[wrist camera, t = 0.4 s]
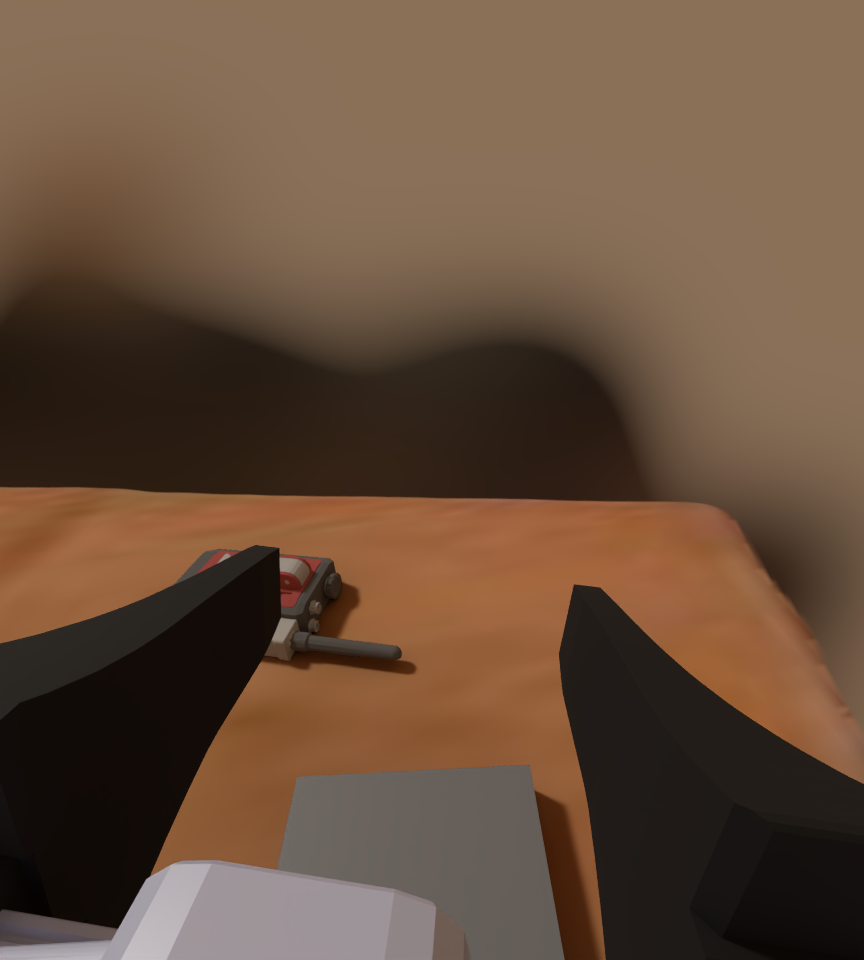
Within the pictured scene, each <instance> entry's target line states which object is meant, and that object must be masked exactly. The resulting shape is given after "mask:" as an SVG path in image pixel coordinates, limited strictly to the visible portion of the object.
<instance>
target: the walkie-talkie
mask: <svg viewBox="0 0 864 960" xmlns="http://www.w3.org/2000/svg"><path fill="white" fill-rule="evenodd" d="M239 552H241V551H237V550H226V549H217V550H212V551H206V552H204V553H203V554H202V555H201V556H200V557H199V558H198V559H197V560H196V561H195V562H194V564H193V565H192V566H191V567H190V568H189V569H188V570H187V571H186V572H185V573H184V574H183V575H182V576H181V577H180V578H179V579H178V580H177V581H176V582H175V584H177V583H179V582H181V581H184V580H186V579H188V578H190V577H192V576H194V575H196V574H198V573H200V572H202V571H204V570H206V569H208V568H210V567H211V566H213V565H215V564H217V563H219V562H221V561H223V560H225V559H227V558H229V557H231V556H233V555H235V554H237V553H239ZM175 584H174V585H175ZM280 586H281V619H280V622H279V624H278V627H277V629H276V631H275V634H274V636H273V638H272V641H271V643H270V645H269V647H268V649H267V652H266V653H265V655H264V656H270V657H277V658H279V659H280V660H286V661H290V659H291V657H292V655H293V654H294V652H295V651H302V652H309V651H317V652H324V653H332V654H339V655H347V656H354V657H360V656H366V657H374V658H382V659H390V660H397V659H400V658H401V655H402V651H401V650H400V648H399V647H398V646H393V645H385V644H378V643H370V642H362V641H354V640H346V639H338V638H330V637H322V636H314V635H312V634H311V633H312V632H318V630H319V627H320V623H317V622H319V621H317V620H318V618H319V616H320V615H321V613H322V611H323V609H324V607H325V606H326V604H327V602H328V600H329V599H333V600H334V599H336V598H337V597H338V596H339V594H340V591H341V586H342V580H341V576H340V574H339V573H336V572H335V567H334V562H333V561H332V560H331V559H330V558H318V557H307V556H295V555H284V554H281V555H280Z"/></svg>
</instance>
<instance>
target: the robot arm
mask: <svg viewBox="0 0 864 960" xmlns="http://www.w3.org/2000/svg"><path fill="white" fill-rule="evenodd" d="M280 619H281V586H280V553H279V548H275V547H266V546H258V545H255V546H252V547H250V548H247V549H245V550H243V551H241V552H239V553H237V554H235V555H233V556H231V557H229V558H227V559H225V560H223V561H221V562H219V563H217V564H215V565H213V566H211V567H210V568H208V569H206V570H204V571H202V572H200V573H198V574H196V575H194V576H192V577H190V578H188V579H186V580H184V581H181V582H179V583H177V584H175V585H173V586H171V587H168V588H166V589H164V590H162V591H160V592H158V593H155V594H153V595H151V596H149V597H147V598H144V599H142V600H139V601H137V602H135V603H132V604H130V605H127V606H125V607H122V608H119V609H116V610H114V611H111V612H108V613H105V614H103V615H100V616H97V617H94V618H91V619H88V620H85V621H81V622H78V623H75V624H71V625H68V626H65V627H61V628H58V629H55V630H51V631H48V632H45V633H41V634H38V635H34V636H30V637H26V638H22V639H18V640H14V641H10V642H5V643H1V644H0V960H471V957H470V953H469V949H468V945H467V941H466V937H465V933H464V931H463V930H462V928H461V927H460V926H459V925H458V924H457V923H456V922H455V921H454V920H453V919H452V918H450V917H449V916H448V915H447V914H446V913H445V912H444V911H442V910H441V909H440V908H439V907H438V906H437V905H435V904H434V903H433V902H432V901H429V900H426V899H423V898H420V897H417V896H414V895H411V894H408V893H405V892H402V891H399V890H396V889H391V888H385V887H379V886H373V885H367V884H360V883H354V882H348V881H342V880H336V879H329V878H323V877H317V876H311V875H305V874H298V873H292V872H286V871H280V870H274V869H268V868H261V867H255V866H249V865H243V864H237V863H230V862H224V861H218V860H202V861H180V862H177V863H174V864H172V865H170V866H168V867H167V868H165V869H163V870H161V871H160V872H158V873H156V874H154V875H153V876H151V877H150V875H151V872H152V870H153V868H154V865H155V863H156V861H157V858H158V856H159V854H160V851H161V849H162V847H163V844H164V842H165V840H166V837H167V835H168V833H169V831H170V829H171V827H172V824H173V822H174V820H175V818H176V816H177V813H178V811H179V809H180V807H181V805H182V802H183V800H184V798H185V796H186V794H187V792H188V789H189V787H190V785H191V783H192V781H193V779H194V777H195V775H196V773H197V771H198V769H199V767H200V765H201V763H202V761H203V758H204V756H205V754H206V752H207V750H208V748H209V747H210V745H211V743H212V741H213V739H214V738H215V736H216V734H217V732H218V730H219V729H220V727H221V726H222V724H223V722H224V721H225V719H226V717H227V716H228V714H229V713H230V711H231V709H232V708H233V706H234V704H235V703H236V701H237V700H238V698H239V696H240V695H241V693H242V692H243V690H244V688H245V687H246V685H247V683H248V682H249V680H250V679H251V677H252V675H253V674H254V672H255V670H256V669H257V667H258V665H259V664H260V662H261V660H262V659H263V657H264V655H265V653H266V652H267V649H268V647H269V645H270V643H271V641H272V638H273V636H274V634H275V631H276V629H277V627H278V624H279V622H280ZM559 660H560V671H561V681H562V690H563V696H564V701H565V705H566V709H567V714H568V718H569V723H570V727H571V731H572V735H573V740H574V744H575V748H576V752H577V756H578V761H579V765H580V769H581V773H582V778H583V782H584V787H585V792H586V797H587V802H588V808H589V816H590V823H591V831H592V838H593V846H594V854H595V862H596V871H597V879H598V888H599V897H600V905H601V915H602V925H603V935H604V945H605V955H606V960H864V784H862V783H860V782H858V781H856V780H854V779H852V778H850V777H848V776H846V775H844V774H843V773H841V772H839V771H837V770H835V769H833V768H832V767H830V766H828V765H826V764H824V763H823V762H821V761H819V760H817V759H816V758H814V757H812V756H810V755H808V754H807V753H805V752H803V751H801V750H800V749H798V748H796V747H795V746H793V745H791V744H790V743H788V742H786V741H785V740H783V739H781V738H780V737H778V736H776V735H775V734H773V733H772V732H770V731H769V730H767V729H766V728H764V727H763V726H761V725H759V724H758V723H756V722H755V721H753V720H752V719H750V718H749V717H747V716H746V715H744V714H743V713H741V712H740V711H738V710H737V709H736V708H734V707H733V706H731V705H730V704H728V703H727V702H726V701H724V700H723V699H722V698H720V697H719V696H718V695H717V694H715V693H714V692H713V691H711V690H710V689H709V688H707V687H706V686H705V685H703V684H702V683H701V682H699V681H698V680H697V679H696V678H695V677H693V676H692V675H691V674H690V673H688V672H687V671H686V670H685V669H684V668H683V667H682V666H680V665H679V664H678V663H677V662H676V661H675V660H674V659H672V658H671V657H670V656H669V655H668V654H667V653H666V652H665V651H664V650H662V649H661V648H660V647H659V646H658V645H657V644H656V643H655V642H654V641H653V640H652V639H651V638H650V637H649V636H648V635H647V634H646V633H645V632H644V631H643V630H642V629H641V628H640V627H639V626H638V625H637V624H636V623H635V622H634V621H633V620H632V619H631V618H630V617H629V616H628V615H627V614H626V613H625V612H624V611H623V610H622V609H621V608H620V607H619V606H618V605H617V604H616V603H615V602H614V601H613V600H612V599H611V598H610V597H609V596H608V595H607V594H606V593H605V592H604V591H603V590H602V589H601V588H599V587H591V586H583V585H574V587H573V592H572V596H571V601H570V605H569V610H568V615H567V619H566V624H565V628H564V633H563V638H562V642H561V647H560V651H559Z"/></svg>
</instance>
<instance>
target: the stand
mask: <svg viewBox="0 0 864 960" xmlns="http://www.w3.org/2000/svg"><path fill="white" fill-rule="evenodd" d="M277 870H280V871H286V872H292V873H298V874H305V875H311V876H317V877H323V878H329V879H336V880H342V881H348V882H354V883H360V884H367V885H373V886H379V887H385V888H391V889H396V890H399V891H402V892H405V893H408V894H411V895H414V896H417V897H420V898H423V899H426V900H429V901H432V902H433V903H434V904H435V905H437V906H438V907H439V908H440V909H441V910H442V911H444V912H445V913H446V914H447V915H448V916H449V917H450V918H452V919H453V920H454V921H455V922H456V923H457V924H458V925H459V926H460V927H461V928H462V930H463V931H464V933H465V937H466V941H467V945H468V949H469V953H470V957H471V960H565V959H564V954H563V948H562V943H561V937H560V931H559V926H558V920H557V915H556V909H555V903H554V898H553V892H552V887H551V881H550V875H549V870H548V864H547V859H546V853H545V847H544V842H543V836H542V831H541V825H540V819H539V814H538V808H537V803H536V797H535V791H534V786H533V780H532V775H531V769H530V765H516V766H497V767H478V768H459V769H439V770H420V771H401V772H382V773H362V774H343V775H324V776H305V777H297V780H296V784H295V789H294V794H293V798H292V803H291V807H290V812H289V816H288V821H287V826H286V830H285V835H284V839H283V844H282V849H281V853H280V858H279V862H278V867H277Z"/></svg>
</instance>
